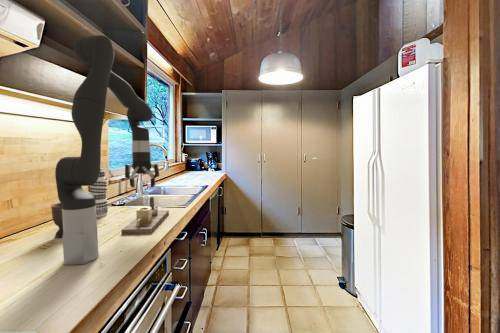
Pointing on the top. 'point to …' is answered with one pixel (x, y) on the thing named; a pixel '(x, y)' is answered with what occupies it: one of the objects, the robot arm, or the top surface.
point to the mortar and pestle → (58, 218)
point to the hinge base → (147, 227)
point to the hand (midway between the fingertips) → (142, 187)
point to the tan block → (144, 215)
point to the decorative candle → (100, 194)
